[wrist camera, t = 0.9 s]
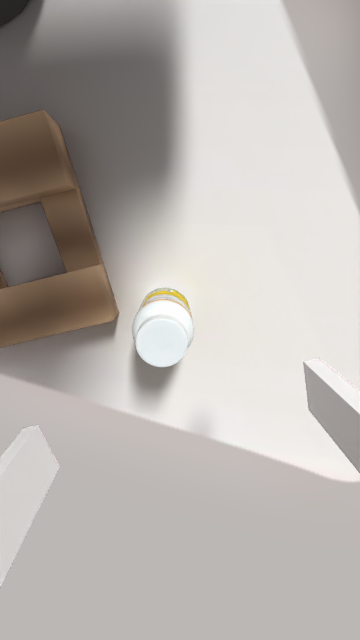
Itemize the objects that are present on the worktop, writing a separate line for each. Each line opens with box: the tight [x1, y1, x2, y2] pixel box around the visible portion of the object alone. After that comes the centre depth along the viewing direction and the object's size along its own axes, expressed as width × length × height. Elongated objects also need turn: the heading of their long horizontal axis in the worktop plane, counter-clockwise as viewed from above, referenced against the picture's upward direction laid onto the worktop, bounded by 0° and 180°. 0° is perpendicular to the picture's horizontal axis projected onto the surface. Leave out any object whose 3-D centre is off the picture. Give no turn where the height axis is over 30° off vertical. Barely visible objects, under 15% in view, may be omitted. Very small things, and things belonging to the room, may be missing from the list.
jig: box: [0, 109, 119, 348], centre depth 25 cm, size 18×14×3 cm
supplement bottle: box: [132, 288, 194, 367], centre depth 24 cm, size 5×5×10 cm
